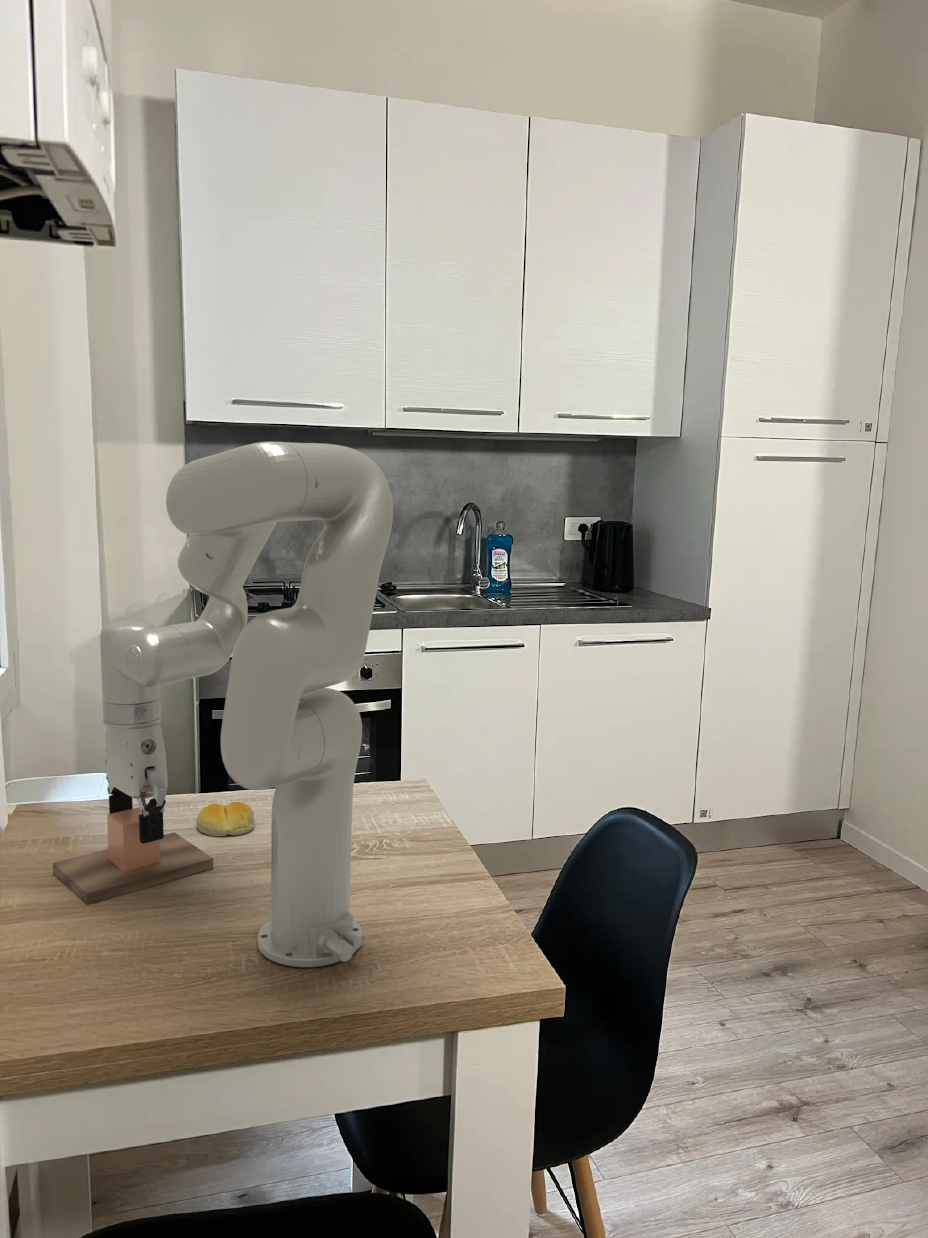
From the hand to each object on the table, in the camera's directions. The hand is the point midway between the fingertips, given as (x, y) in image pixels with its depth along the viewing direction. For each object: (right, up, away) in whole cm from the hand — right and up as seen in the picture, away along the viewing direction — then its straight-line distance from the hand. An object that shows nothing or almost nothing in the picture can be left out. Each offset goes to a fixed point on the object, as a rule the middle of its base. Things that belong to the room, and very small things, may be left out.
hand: (136, 830), depth 133 cm
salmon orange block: (-1, -5, +1) cm, 5 cm away
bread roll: (+8, -4, +18) cm, 20 cm away
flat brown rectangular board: (-1, -6, +1) cm, 6 cm away
